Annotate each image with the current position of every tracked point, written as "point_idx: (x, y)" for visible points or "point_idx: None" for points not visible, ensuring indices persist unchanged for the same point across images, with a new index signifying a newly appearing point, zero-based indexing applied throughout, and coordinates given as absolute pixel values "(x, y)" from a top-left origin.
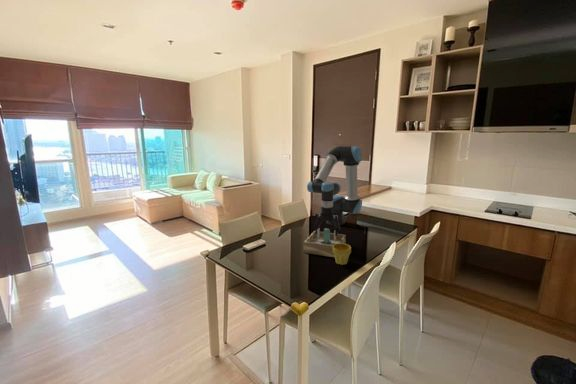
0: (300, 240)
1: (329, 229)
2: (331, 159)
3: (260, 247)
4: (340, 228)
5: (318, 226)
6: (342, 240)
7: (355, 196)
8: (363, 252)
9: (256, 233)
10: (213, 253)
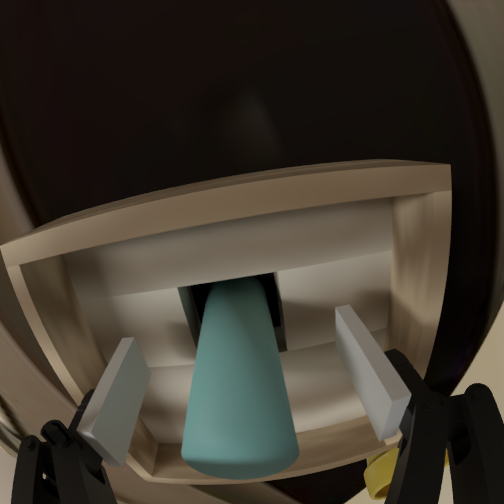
0: None
1: (286, 442)
2: None
3: (11, 414)
4: (488, 402)
5: (113, 501)
6: (430, 351)
7: None
8: (489, 245)
9: None
10: (9, 450)
